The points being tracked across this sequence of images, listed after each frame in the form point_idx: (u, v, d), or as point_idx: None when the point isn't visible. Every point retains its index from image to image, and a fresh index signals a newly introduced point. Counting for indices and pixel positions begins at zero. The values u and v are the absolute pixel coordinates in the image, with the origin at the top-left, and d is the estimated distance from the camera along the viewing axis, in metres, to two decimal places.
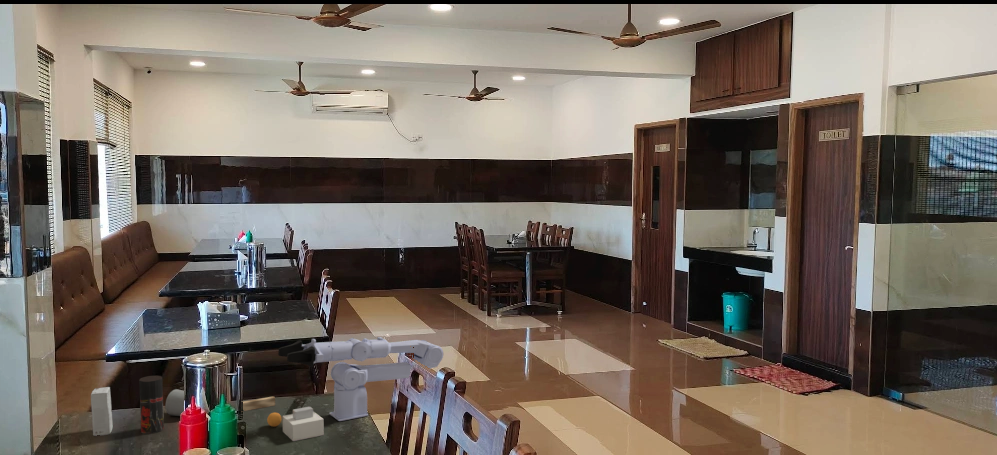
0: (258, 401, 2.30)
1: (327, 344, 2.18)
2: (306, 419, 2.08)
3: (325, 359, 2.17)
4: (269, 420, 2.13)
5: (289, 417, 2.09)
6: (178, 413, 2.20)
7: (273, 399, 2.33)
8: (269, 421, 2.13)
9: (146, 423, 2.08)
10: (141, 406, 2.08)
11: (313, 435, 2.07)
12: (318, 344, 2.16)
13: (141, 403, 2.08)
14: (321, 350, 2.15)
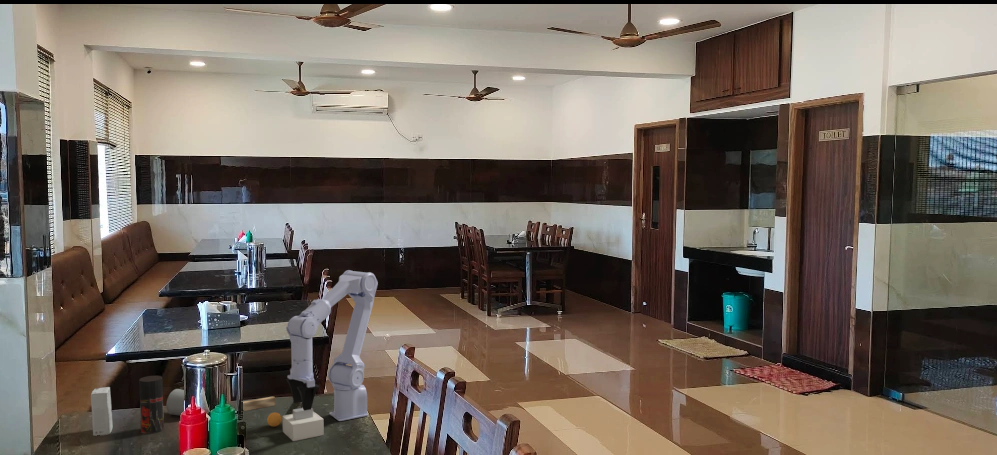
0: (258, 401, 2.30)
1: (295, 364, 2.05)
2: (306, 419, 2.08)
3: (310, 365, 2.07)
4: (269, 420, 2.13)
5: (289, 417, 2.09)
6: (179, 413, 2.21)
7: (273, 399, 2.33)
8: (269, 421, 2.13)
9: (146, 423, 2.08)
10: (141, 406, 2.08)
11: (313, 435, 2.07)
12: (294, 373, 2.06)
13: (141, 403, 2.08)
14: (301, 372, 2.05)
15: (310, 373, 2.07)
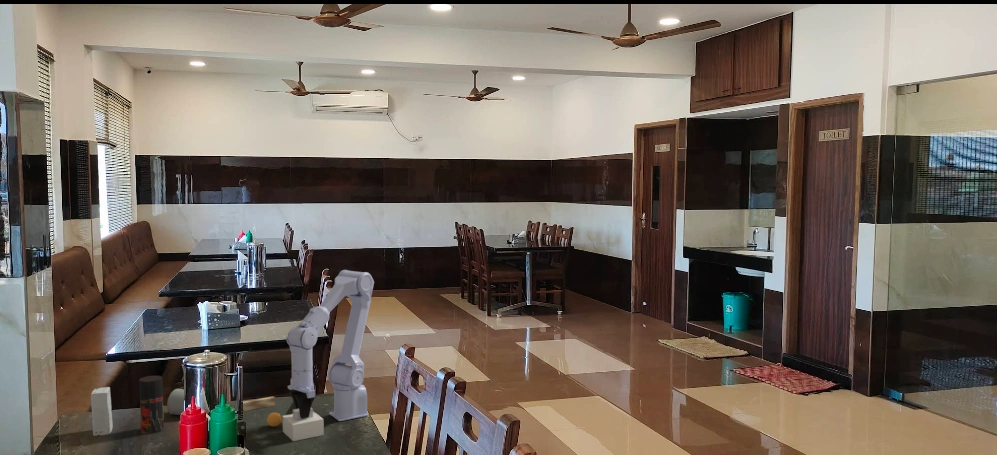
0: (258, 401, 2.30)
1: (295, 374, 2.06)
2: (306, 419, 2.08)
3: (311, 375, 2.07)
4: (269, 420, 2.13)
5: (289, 417, 2.09)
6: (180, 412, 2.21)
7: (273, 399, 2.33)
8: (269, 421, 2.13)
9: (146, 423, 2.08)
10: (141, 406, 2.08)
11: (313, 435, 2.07)
12: (294, 384, 2.06)
13: (141, 403, 2.08)
14: (301, 383, 2.06)
15: (310, 383, 2.07)
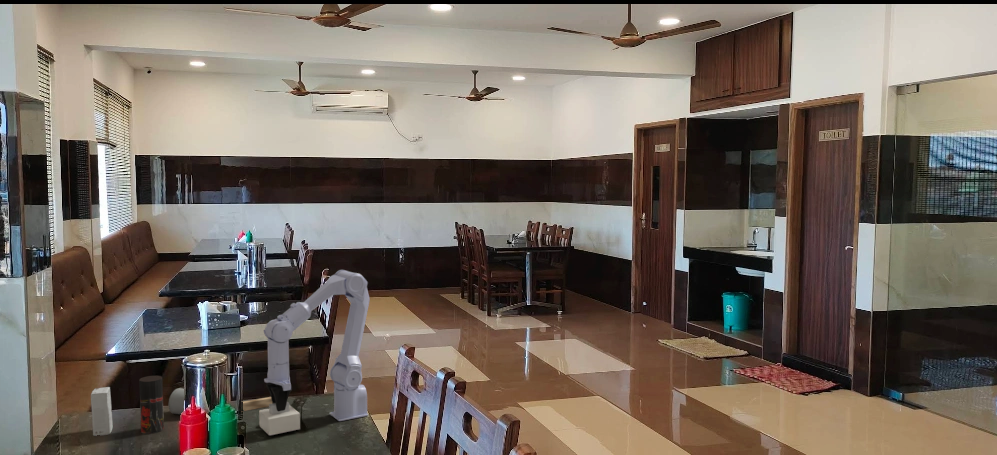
0: (258, 401, 2.30)
1: (271, 367, 2.07)
2: (282, 413, 2.09)
3: (287, 368, 2.09)
4: None
5: (265, 411, 2.11)
6: (181, 412, 2.22)
7: None
8: None
9: (146, 423, 2.08)
10: (141, 406, 2.08)
11: (289, 429, 2.08)
12: (270, 377, 2.07)
13: (141, 403, 2.08)
14: (277, 376, 2.07)
15: (286, 376, 2.09)
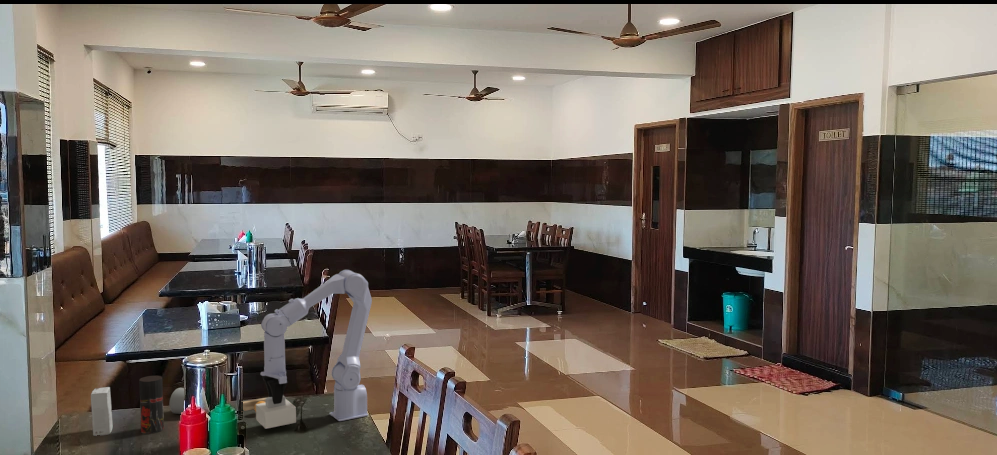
0: (258, 401, 2.30)
1: (267, 361, 2.10)
2: (278, 407, 2.12)
3: (283, 362, 2.11)
4: None
5: (262, 405, 2.13)
6: (182, 411, 2.22)
7: None
8: None
9: (146, 423, 2.08)
10: (141, 406, 2.08)
11: (285, 423, 2.11)
12: (267, 370, 2.10)
13: (141, 403, 2.08)
14: (273, 369, 2.10)
15: (283, 370, 2.11)
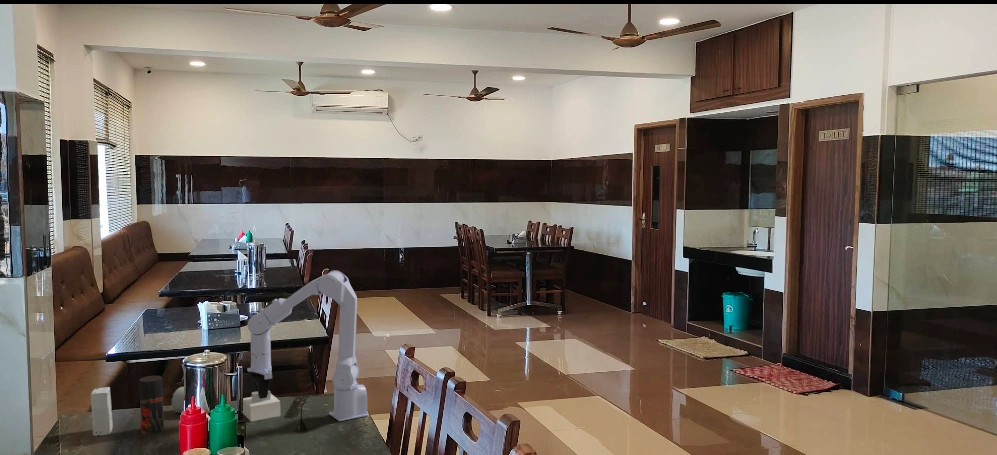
0: None
1: (253, 357, 2.21)
2: (263, 401, 2.23)
3: (268, 358, 2.23)
4: None
5: (248, 399, 2.24)
6: None
7: None
8: None
9: (146, 423, 2.08)
10: (141, 406, 2.08)
11: (270, 416, 2.22)
12: (253, 366, 2.21)
13: (141, 403, 2.08)
14: (259, 365, 2.21)
15: (268, 366, 2.23)
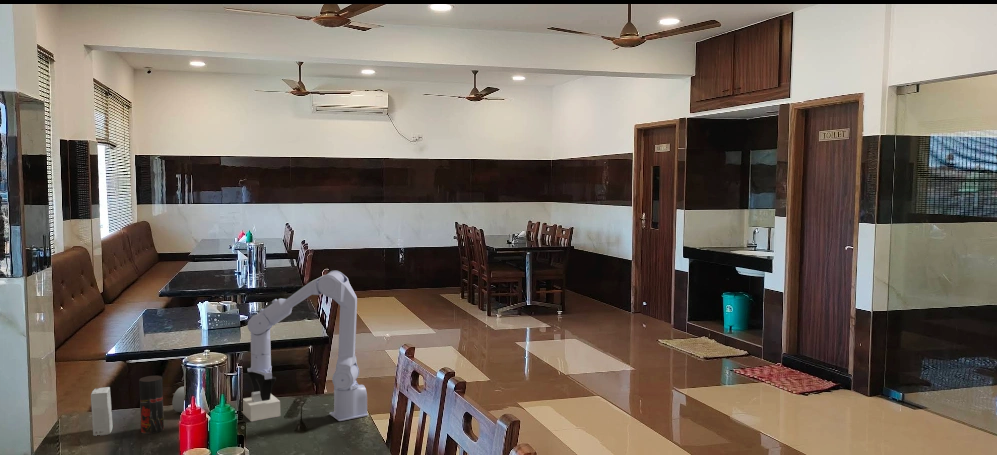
0: None
1: (253, 358, 2.21)
2: (263, 401, 2.23)
3: (269, 359, 2.23)
4: None
5: (248, 399, 2.24)
6: None
7: None
8: None
9: (146, 423, 2.08)
10: (141, 406, 2.08)
11: (270, 416, 2.22)
12: (253, 366, 2.21)
13: (141, 403, 2.08)
14: (259, 365, 2.21)
15: (268, 366, 2.23)
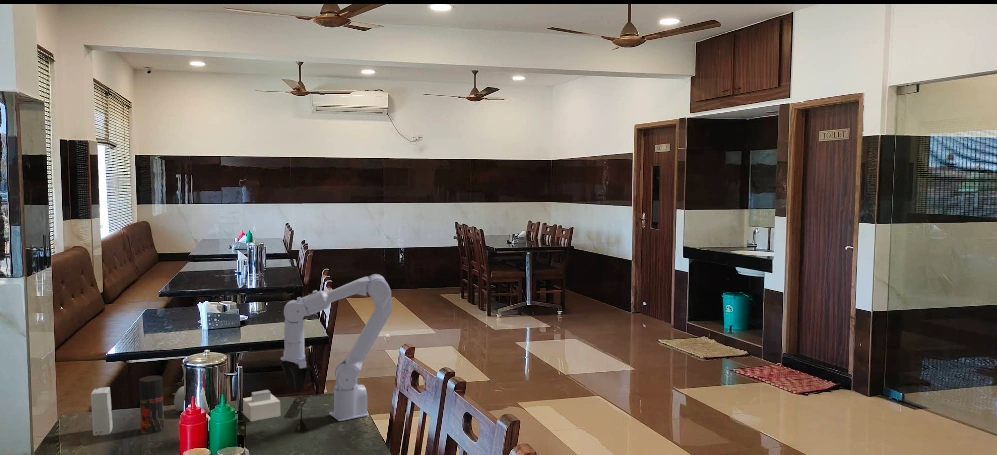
0: None
1: (287, 346, 2.16)
2: (263, 401, 2.23)
3: (302, 347, 2.18)
4: None
5: (248, 399, 2.24)
6: None
7: None
8: None
9: (146, 423, 2.08)
10: (141, 406, 2.08)
11: (270, 416, 2.22)
12: (287, 355, 2.17)
13: (141, 403, 2.08)
14: (293, 354, 2.16)
15: (302, 355, 2.18)
